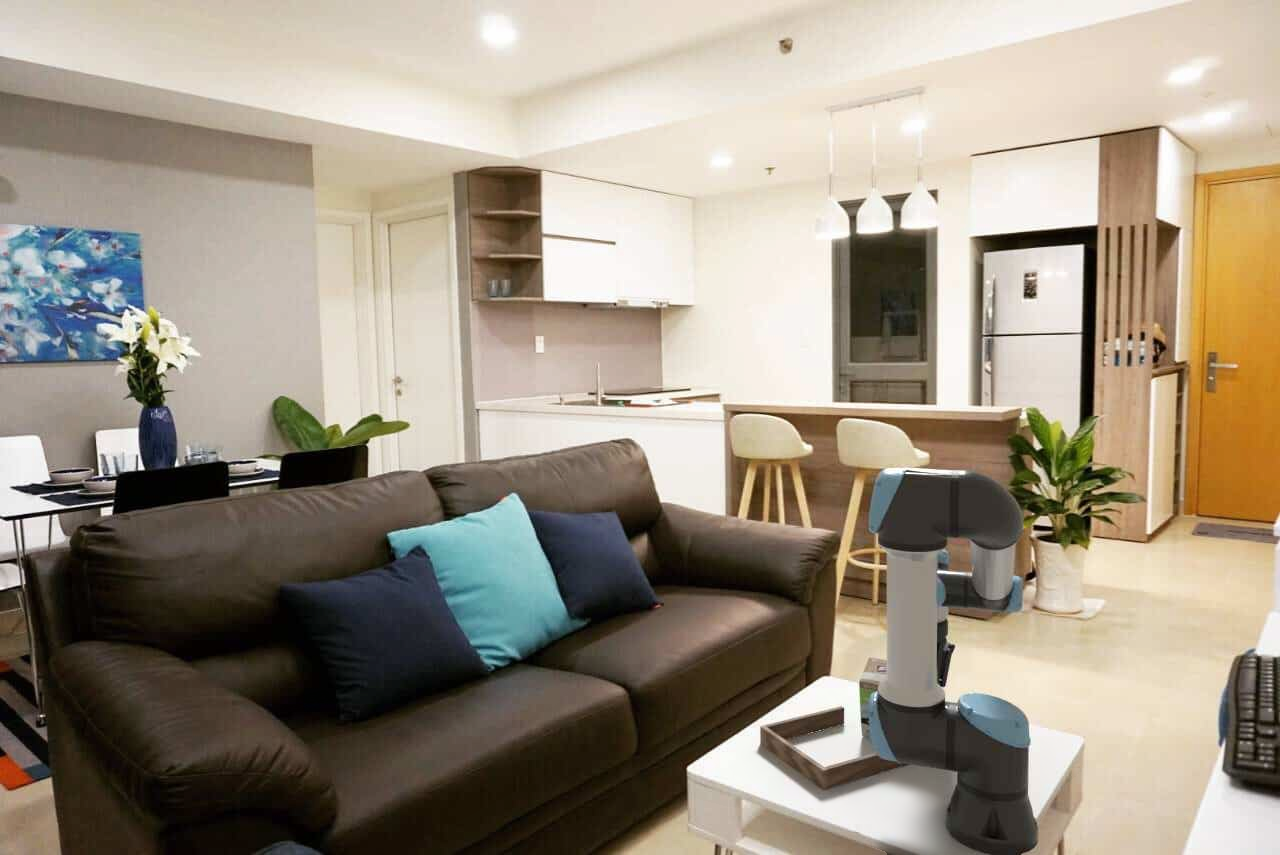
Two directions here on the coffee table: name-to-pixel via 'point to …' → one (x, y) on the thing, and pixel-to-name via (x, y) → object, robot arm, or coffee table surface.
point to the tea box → (871, 688)
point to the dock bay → (822, 776)
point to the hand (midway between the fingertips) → (929, 719)
